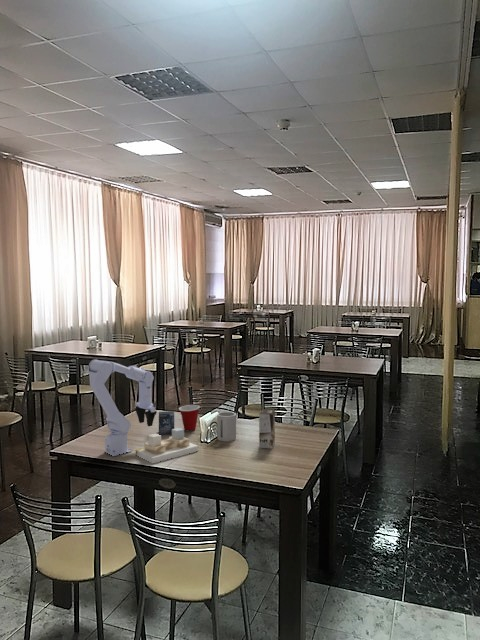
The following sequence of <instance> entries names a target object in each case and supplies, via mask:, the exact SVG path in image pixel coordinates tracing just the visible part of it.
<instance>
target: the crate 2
mask: <svg viewBox="0 0 480 640" xmlns="http://www.w3.org/2000/svg"><path fill="white" fill-rule="evenodd" d="M171 436H172V438H173V439H176V440H179V439H182V438H184V437H185V430H184V428H181V427H176V428H175V427H174V429H172V434H171Z"/></svg>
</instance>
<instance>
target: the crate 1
mask: <svg viewBox="0 0 480 640" xmlns="http://www.w3.org/2000/svg"><path fill="white" fill-rule="evenodd" d="M147 436H148V437H147V438H148V442H149V445H152V446H157V445H161V441H162V434H161V435H159V433H153V434H148V435H147Z"/></svg>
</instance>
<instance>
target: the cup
mask: <svg viewBox="0 0 480 640" xmlns="http://www.w3.org/2000/svg"><path fill="white" fill-rule="evenodd" d="M216 415H217V416H216V419H217V421H216V422H217V428H216V429H217V434H216V435H217V440H218V441H222V442H232V441H235V440H236V439H237V413H236V412H233V411H221V412H218V413H217V414H216Z"/></svg>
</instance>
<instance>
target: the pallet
mask: <svg viewBox="0 0 480 640" xmlns="http://www.w3.org/2000/svg"><path fill="white" fill-rule="evenodd" d="M189 442H190V438H187V437H185V436H184V438H182V439H179V440H176V439H173V438H172V435H171V436H168V438H167V439H166V438H165V439H161V445H157V446H152V445H149V441H146V442H144V445H143V446H144V447H143V448H144V450H146V451H148V452H151V453H153V454H155V455H157V454H161V453H164V452H165V450H169V449H173V448H176V447H179V448H183V447H187V446H190V444H189Z"/></svg>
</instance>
